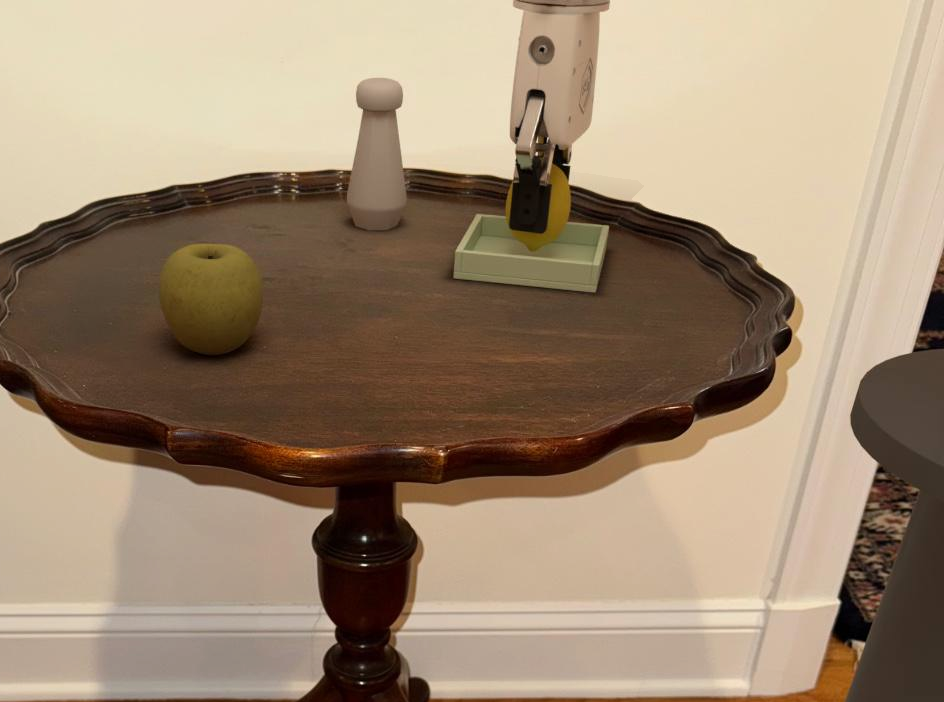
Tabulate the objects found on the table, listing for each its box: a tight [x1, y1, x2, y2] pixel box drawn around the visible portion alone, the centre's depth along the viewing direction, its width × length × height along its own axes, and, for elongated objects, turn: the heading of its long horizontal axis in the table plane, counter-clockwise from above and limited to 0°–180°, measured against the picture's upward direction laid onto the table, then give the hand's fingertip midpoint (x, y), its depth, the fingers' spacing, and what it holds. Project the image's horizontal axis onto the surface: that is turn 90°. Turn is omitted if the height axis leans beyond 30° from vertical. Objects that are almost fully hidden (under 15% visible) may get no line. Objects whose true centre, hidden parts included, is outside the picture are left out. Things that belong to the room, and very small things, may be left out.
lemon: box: [505, 158, 572, 252], centre depth 97 cm, size 6×6×8 cm
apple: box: [158, 243, 264, 356], centre depth 83 cm, size 8×8×7 cm
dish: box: [452, 213, 610, 294], centre depth 100 cm, size 12×11×2 cm
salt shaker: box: [346, 77, 408, 231], centre depth 106 cm, size 6×6×13 cm
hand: (537, 218), depth 98 cm, fingers closed on lemon, 5 cm apart
